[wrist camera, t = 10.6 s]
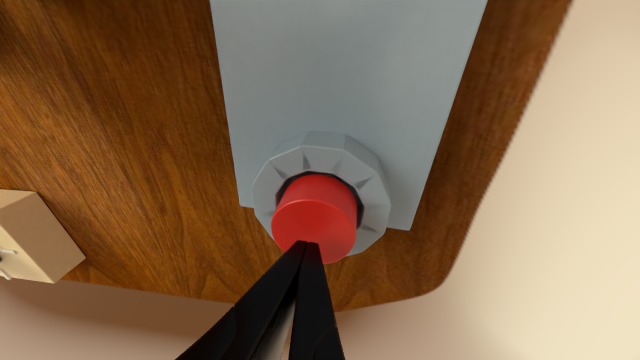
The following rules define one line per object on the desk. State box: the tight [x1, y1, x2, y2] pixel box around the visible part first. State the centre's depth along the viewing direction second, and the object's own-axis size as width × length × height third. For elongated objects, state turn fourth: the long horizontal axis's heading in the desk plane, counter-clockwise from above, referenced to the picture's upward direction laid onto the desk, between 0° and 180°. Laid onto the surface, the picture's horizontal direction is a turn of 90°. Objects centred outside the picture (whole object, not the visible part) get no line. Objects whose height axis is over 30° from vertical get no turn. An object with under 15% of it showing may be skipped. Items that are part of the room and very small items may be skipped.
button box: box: [210, 0, 488, 256], centre depth 10 cm, size 19×10×4 cm, turn 177°
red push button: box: [271, 174, 357, 264], centre depth 11 cm, size 4×4×2 cm
